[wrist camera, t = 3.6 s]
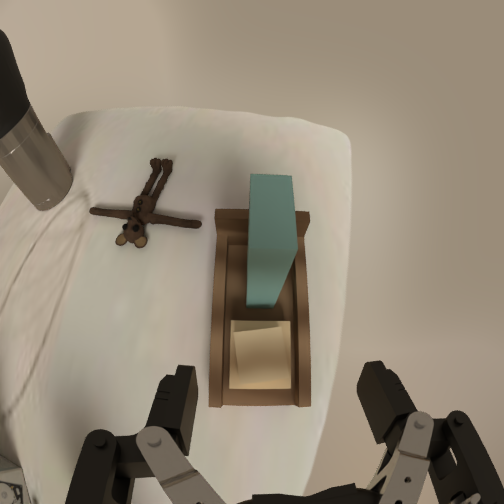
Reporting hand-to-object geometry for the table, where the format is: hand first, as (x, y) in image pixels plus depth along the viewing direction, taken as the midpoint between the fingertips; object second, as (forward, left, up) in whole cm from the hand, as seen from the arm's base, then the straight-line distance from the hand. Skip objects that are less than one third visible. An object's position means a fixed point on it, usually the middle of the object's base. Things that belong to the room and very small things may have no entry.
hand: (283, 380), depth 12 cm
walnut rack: (-7, +1, -18) cm, 19 cm away
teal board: (-11, +2, -17) cm, 20 cm away
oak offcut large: (-2, 0, -17) cm, 17 cm away
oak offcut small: (-2, 0, -15) cm, 15 cm away
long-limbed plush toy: (-25, -12, -19) cm, 33 cm away
